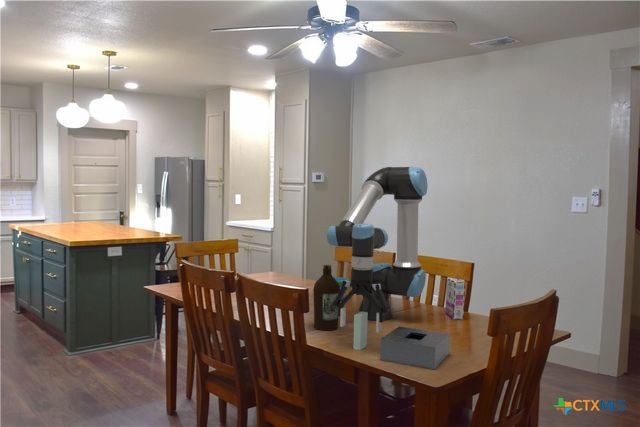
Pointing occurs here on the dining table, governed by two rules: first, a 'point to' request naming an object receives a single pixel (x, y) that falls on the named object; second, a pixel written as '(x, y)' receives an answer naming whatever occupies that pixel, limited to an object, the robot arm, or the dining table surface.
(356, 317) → the pale green flat block
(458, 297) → the candy bar box
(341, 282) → the snack cup
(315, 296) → the olive oil
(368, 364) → the dining table surface
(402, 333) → the grey slotted box
